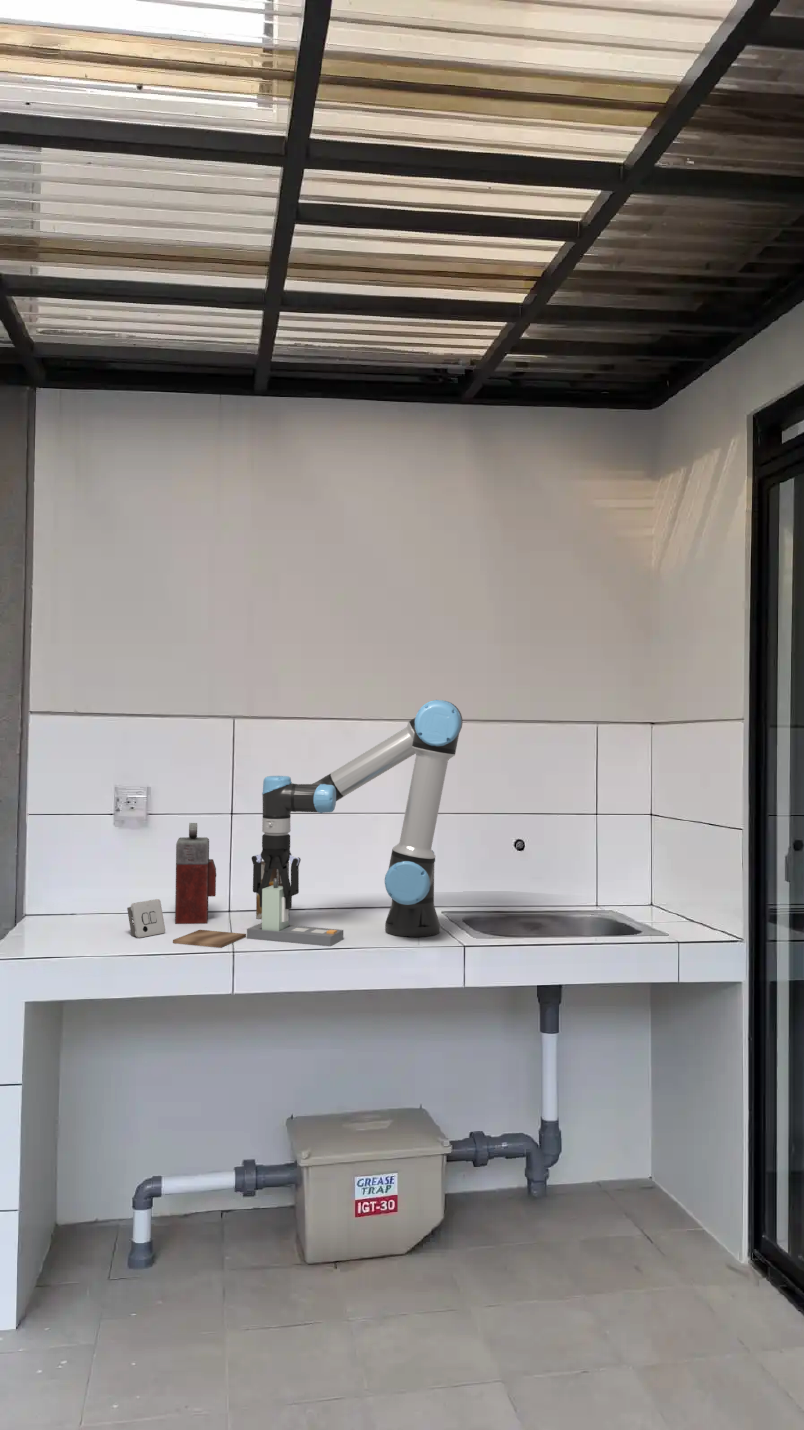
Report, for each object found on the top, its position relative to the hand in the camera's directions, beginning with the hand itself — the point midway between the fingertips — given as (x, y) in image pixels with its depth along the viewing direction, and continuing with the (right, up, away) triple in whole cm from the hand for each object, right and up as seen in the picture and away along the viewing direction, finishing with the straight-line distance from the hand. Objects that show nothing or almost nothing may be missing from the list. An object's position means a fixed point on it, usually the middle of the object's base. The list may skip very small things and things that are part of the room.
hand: (275, 920), depth 293 cm
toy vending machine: (-25, -4, +20) cm, 32 cm away
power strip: (+5, -5, -2) cm, 7 cm away
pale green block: (0, -4, 0) cm, 4 cm away
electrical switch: (-35, -4, 0) cm, 35 cm away
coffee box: (-4, -4, +27) cm, 27 cm away
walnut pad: (-17, -4, -5) cm, 18 cm away
